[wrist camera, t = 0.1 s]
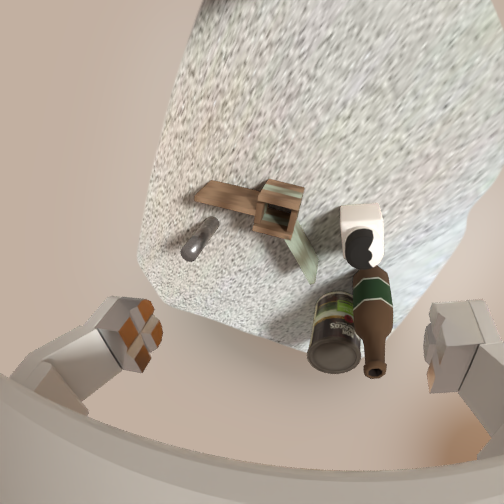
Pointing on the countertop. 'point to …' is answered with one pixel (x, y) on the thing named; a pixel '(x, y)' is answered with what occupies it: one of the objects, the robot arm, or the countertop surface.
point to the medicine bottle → (362, 235)
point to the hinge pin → (199, 239)
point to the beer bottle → (373, 317)
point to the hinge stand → (268, 215)
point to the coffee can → (334, 335)
